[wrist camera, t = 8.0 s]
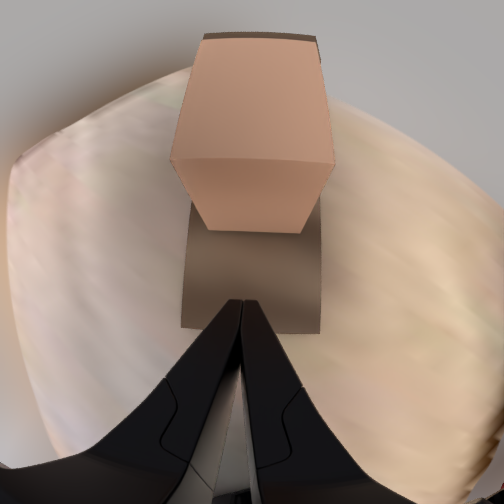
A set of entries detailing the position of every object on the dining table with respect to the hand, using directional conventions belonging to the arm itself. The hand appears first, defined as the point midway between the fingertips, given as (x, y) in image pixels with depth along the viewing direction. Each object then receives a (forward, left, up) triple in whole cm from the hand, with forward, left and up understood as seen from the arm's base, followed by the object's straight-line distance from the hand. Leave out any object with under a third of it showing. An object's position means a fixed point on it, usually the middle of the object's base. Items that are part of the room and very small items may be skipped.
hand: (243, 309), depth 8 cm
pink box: (+8, -5, -9) cm, 13 cm away
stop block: (+6, -4, -11) cm, 13 cm away
